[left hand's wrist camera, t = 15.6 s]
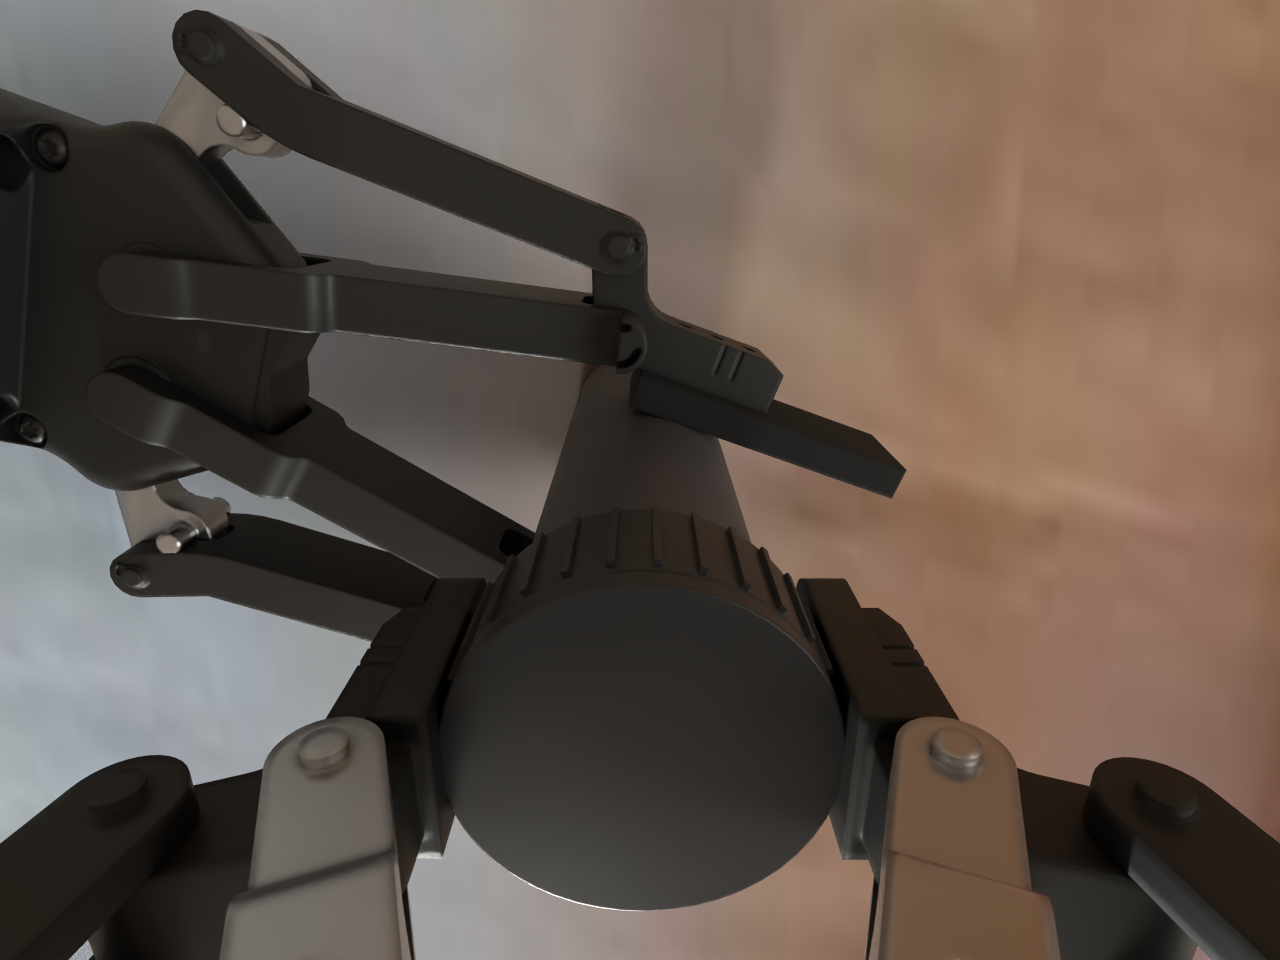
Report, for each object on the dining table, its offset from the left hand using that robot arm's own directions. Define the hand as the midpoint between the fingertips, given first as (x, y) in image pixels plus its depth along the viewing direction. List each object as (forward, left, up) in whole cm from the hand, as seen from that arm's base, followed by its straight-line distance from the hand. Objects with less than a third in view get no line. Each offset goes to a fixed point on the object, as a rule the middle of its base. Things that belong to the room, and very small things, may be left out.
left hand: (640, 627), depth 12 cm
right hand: (-5, -2, -7) cm, 8 cm away
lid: (0, 0, +3) cm, 3 cm away
